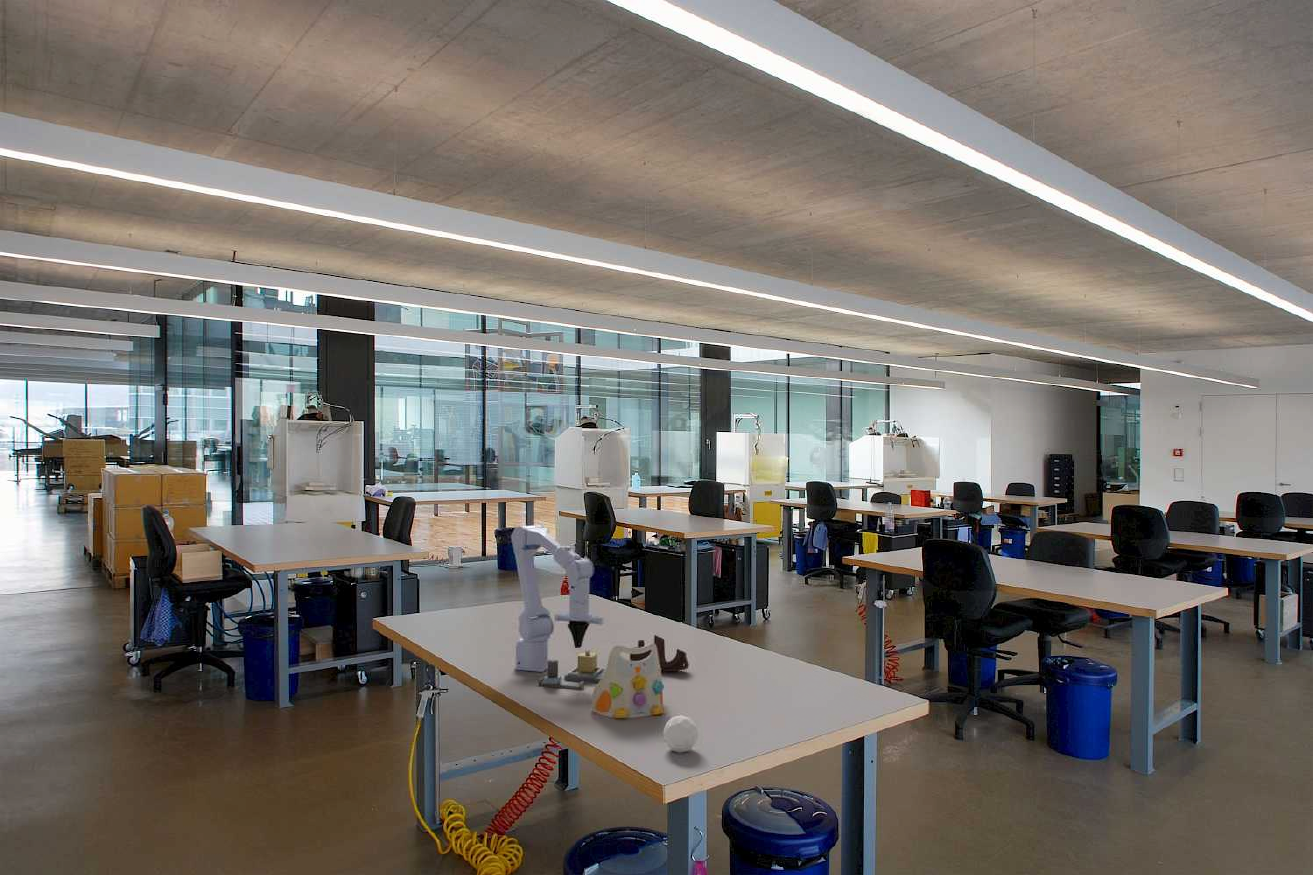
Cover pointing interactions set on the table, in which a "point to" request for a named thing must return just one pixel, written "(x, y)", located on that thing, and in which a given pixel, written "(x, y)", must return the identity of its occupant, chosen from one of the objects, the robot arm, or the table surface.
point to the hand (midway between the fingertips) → (578, 647)
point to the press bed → (585, 675)
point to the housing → (587, 662)
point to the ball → (680, 733)
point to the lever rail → (561, 684)
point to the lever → (552, 673)
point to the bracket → (663, 656)
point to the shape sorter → (630, 685)
